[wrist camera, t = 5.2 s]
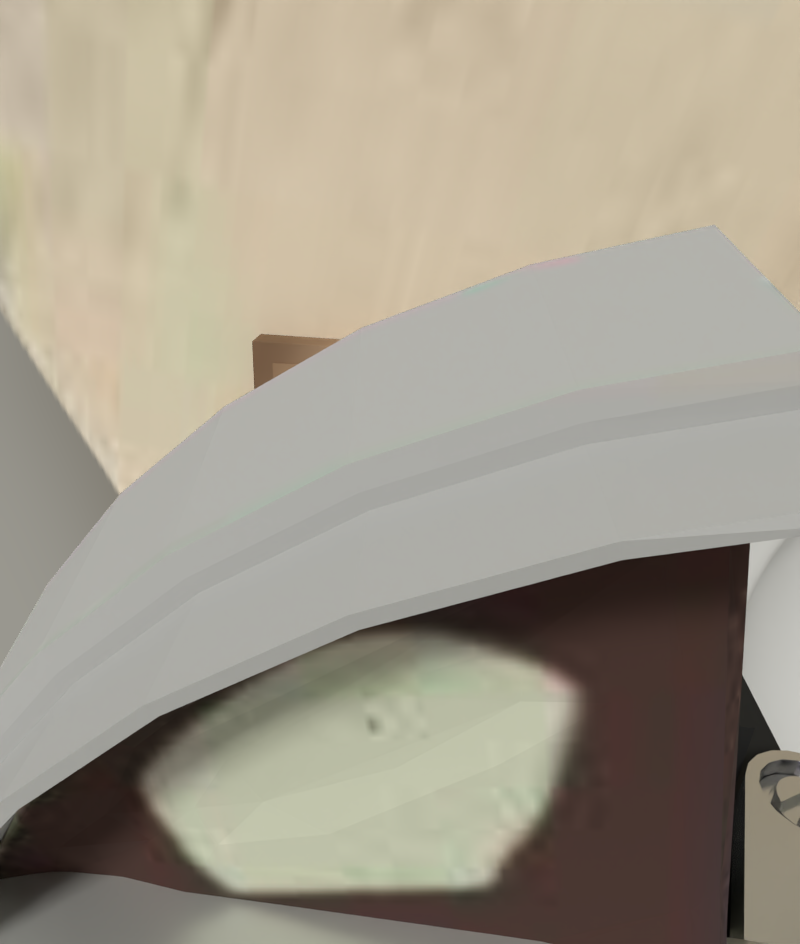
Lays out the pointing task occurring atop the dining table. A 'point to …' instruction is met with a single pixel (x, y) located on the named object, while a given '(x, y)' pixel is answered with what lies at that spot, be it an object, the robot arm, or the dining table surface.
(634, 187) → the dining table surface
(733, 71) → the dining table surface
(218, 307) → the dining table surface
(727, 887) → the food container
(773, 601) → the soup bowl
